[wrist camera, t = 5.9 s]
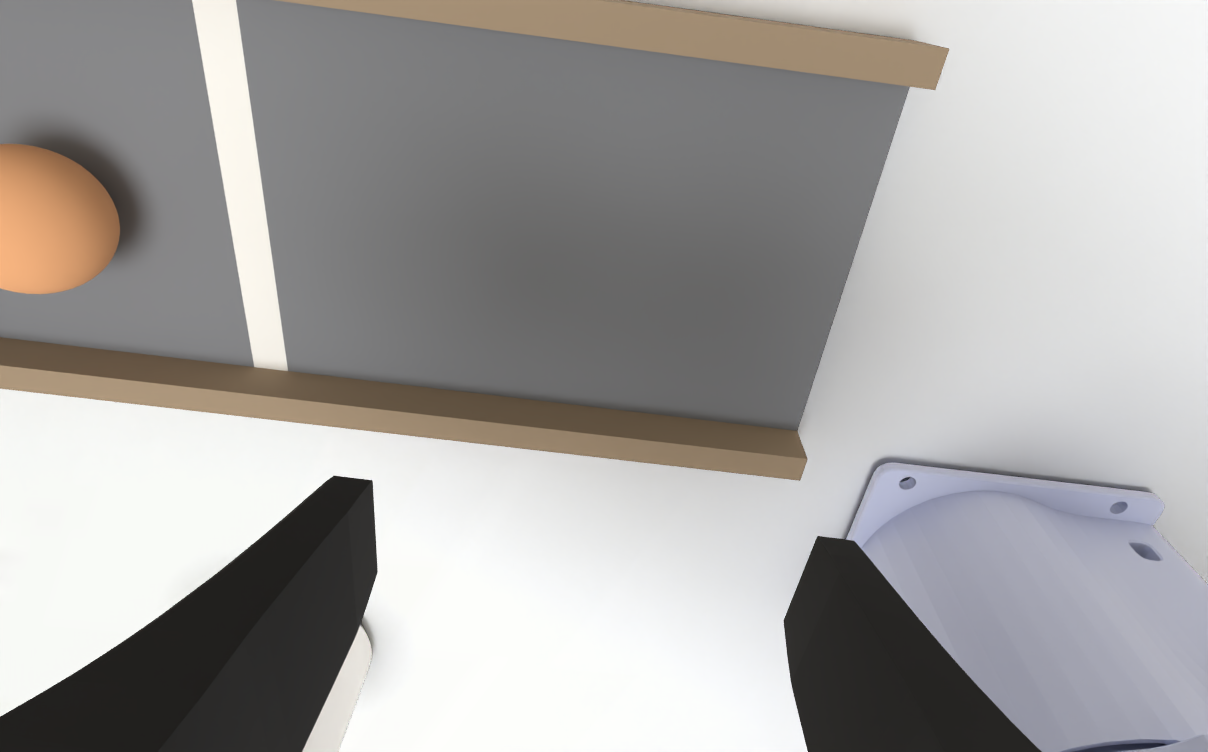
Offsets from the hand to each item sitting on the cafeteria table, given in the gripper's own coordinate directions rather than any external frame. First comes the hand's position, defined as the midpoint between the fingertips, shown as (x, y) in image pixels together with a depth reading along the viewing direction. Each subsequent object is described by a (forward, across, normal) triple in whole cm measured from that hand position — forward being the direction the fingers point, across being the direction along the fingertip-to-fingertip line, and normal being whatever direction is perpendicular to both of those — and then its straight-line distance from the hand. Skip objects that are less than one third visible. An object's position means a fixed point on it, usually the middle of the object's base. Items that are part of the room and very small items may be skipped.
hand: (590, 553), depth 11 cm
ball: (+9, +13, -1) cm, 15 cm away
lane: (+10, +7, -2) cm, 12 cm away
